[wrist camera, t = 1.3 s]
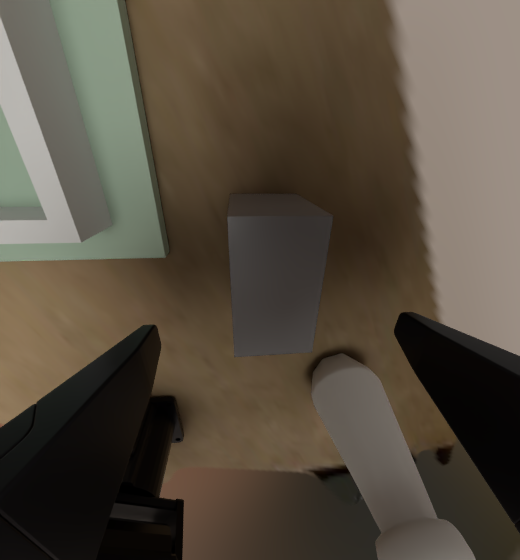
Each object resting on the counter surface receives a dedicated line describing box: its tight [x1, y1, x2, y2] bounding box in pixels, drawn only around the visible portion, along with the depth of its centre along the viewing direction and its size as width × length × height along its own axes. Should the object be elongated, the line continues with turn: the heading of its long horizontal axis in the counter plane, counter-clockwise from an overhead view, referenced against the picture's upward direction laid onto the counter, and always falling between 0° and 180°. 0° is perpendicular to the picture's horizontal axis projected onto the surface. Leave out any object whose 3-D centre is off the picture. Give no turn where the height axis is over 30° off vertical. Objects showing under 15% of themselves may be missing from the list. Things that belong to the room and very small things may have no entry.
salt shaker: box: [311, 353, 476, 560], centre depth 16 cm, size 6×6×13 cm
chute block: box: [227, 194, 333, 357], centre depth 13 cm, size 7×4×6 cm, turn 179°
